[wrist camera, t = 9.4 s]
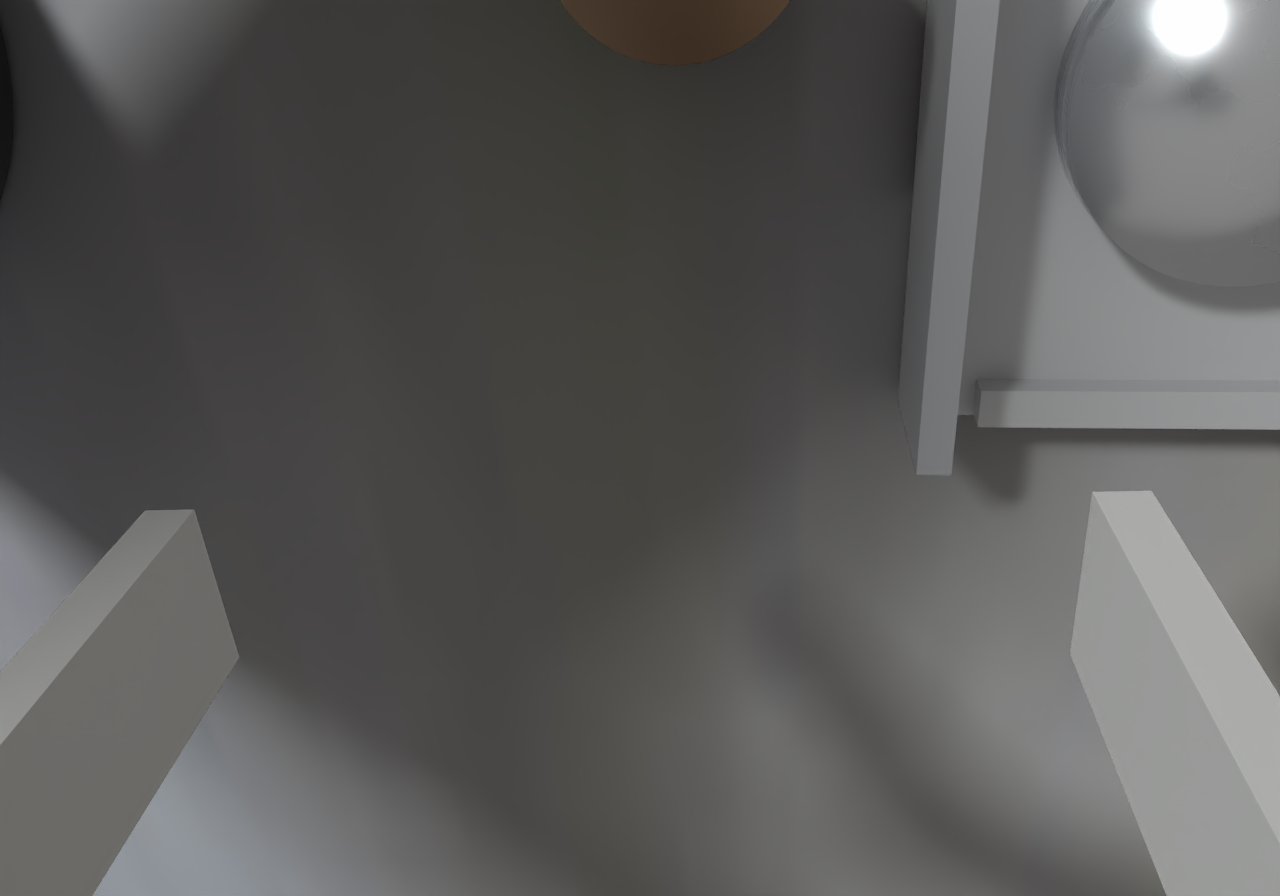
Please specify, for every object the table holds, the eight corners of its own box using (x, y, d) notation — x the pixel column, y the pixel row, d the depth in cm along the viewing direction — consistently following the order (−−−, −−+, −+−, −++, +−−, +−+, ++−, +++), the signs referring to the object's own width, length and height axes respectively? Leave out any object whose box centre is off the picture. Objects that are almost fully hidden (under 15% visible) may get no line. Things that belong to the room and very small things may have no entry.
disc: (1025, 256, 27) (1039, 279, 25) (1090, -120, 23) (1111, -118, 21) (1380, 269, 26) (1415, 293, 24) (1509, -118, 22) (1559, -116, 21)
